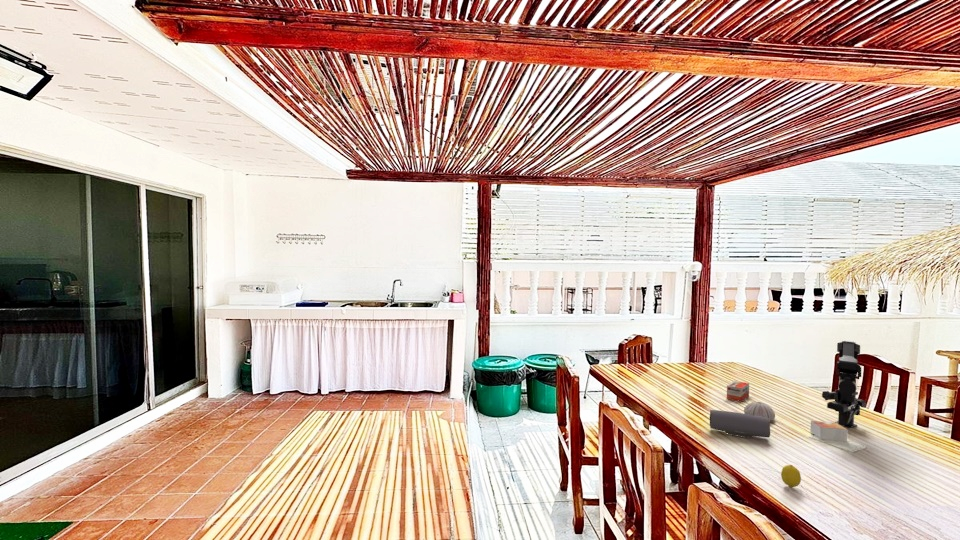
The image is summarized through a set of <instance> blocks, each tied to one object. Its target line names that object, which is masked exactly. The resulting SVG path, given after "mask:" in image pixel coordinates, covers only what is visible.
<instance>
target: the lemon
mask: <svg viewBox="0 0 960 540" xmlns="http://www.w3.org/2000/svg"><path fill="white" fill-rule="evenodd" d="M780 476H781V480H782V482H783V483H784V484H785V485H786V486H788V487H789V488H791V489H792V488H795V487H798V486H799V485H800V484H801V481H802V477H801V473H800V471H799V469H798V468H797V467H796V466H794V465H793V464H788V465H784V466H783V467H782V469H781V472H780Z"/></svg>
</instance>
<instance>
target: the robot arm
mask: <svg viewBox="0 0 960 540" xmlns="http://www.w3.org/2000/svg"><path fill="white" fill-rule="evenodd" d="M836 346H837V348H836V352H837V353H838V356H839V357H838V361H837V362H836V373H835V376H837V377H838V379H839V380H838V389H835V391H828V390H826V391H822V393H821V398H823V399H824V401H829V402H827V403H826V408H827V409H830V410H834V411H835V412H838V415H837V416H838V419H837V420H838V421H834V423H838V424H839V425H841V426H842V427H845V428H849V429H850V428H851V429H852V428H856V427H857V426H858V424H855V423H854V422H855V416H860V413H861V408H866V407H867V402H866V401H865V400H864V399H860V398H857V397H856V396H858V395H859V393H858V391H857V380H860V378H862V366H861V364H859V363H858V358H859V357H858V356H859V355H860V354H861V345H860V344H857V343H856V342H855V341H850V340H841V341H840V342H837V344H836Z"/></svg>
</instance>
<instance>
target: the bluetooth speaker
mask: <svg viewBox="0 0 960 540" xmlns="http://www.w3.org/2000/svg"><path fill="white" fill-rule="evenodd" d="M709 412H710V413H709V428H710V429H712V430H716V431H719V432H724V433H725V434H726V433H728V434H727V435H729V434H732V435H731V436H735V435H738V436H737V437H741V436H742V438H748V437H749V439H750V438H751V437H752V438H753V437H758V438H770V437H771V424H770V423H771V421H769V418H765V417H761V416H755V415H749V414H745V413H742V412H737V411H727V410H720V409H719V410H716V409H710V410H709ZM752 438H751V439H752Z"/></svg>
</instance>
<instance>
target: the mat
mask: <svg viewBox="0 0 960 540" xmlns="http://www.w3.org/2000/svg"><path fill="white" fill-rule="evenodd" d="M809 438H811V440H816V441H819V442H820V443H821V442H822V443H824V444H828V445H829V446H833V447H836V448H838V449H840V450H844V451H847V452H849V453H855V452H859V451H861V450H865V449H867V446H864V445H860V444H858V443H855V442H853V441H848V440H847V441H835V440H824V439H820V438H818V437H817V436H815V435H814V434H813V435H812V436H811V435H810V436H809Z"/></svg>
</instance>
